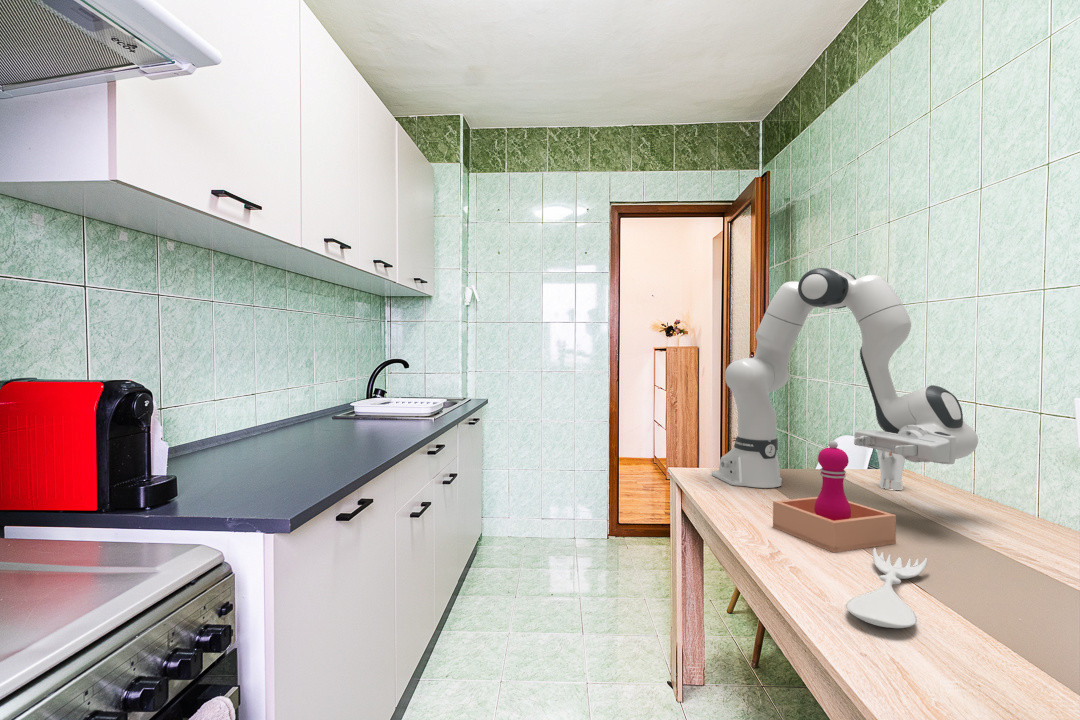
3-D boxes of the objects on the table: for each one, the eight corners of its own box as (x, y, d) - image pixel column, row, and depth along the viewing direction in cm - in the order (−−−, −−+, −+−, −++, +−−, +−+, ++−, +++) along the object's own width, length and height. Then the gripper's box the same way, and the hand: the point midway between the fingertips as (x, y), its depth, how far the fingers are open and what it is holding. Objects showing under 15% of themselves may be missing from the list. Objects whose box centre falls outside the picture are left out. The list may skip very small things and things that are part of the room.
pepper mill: (841, 525, 124) (842, 438, 124) (857, 536, 117) (858, 443, 117) (808, 524, 125) (809, 437, 124) (822, 535, 118) (823, 443, 117)
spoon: (929, 574, 100) (929, 556, 100) (913, 647, 75) (913, 622, 75) (872, 562, 106) (872, 545, 106) (839, 626, 81) (840, 603, 81)
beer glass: (872, 487, 165) (872, 437, 165) (886, 484, 168) (887, 436, 168) (895, 492, 158) (896, 441, 158) (910, 489, 161) (910, 439, 161)
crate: (772, 527, 126) (773, 501, 126) (829, 520, 132) (829, 495, 132) (833, 552, 110) (834, 523, 110) (895, 543, 116) (896, 515, 115)
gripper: (879, 423, 139) (837, 425, 135) (963, 437, 120) (918, 440, 115) (878, 448, 139) (836, 450, 135) (962, 465, 120) (916, 469, 116)
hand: (874, 445), depth 125 cm, fingers open, 8 cm apart
